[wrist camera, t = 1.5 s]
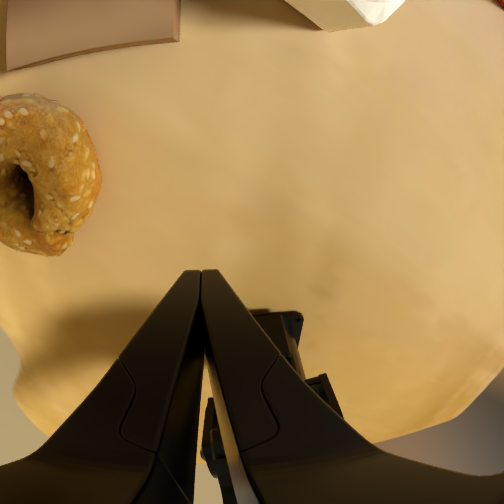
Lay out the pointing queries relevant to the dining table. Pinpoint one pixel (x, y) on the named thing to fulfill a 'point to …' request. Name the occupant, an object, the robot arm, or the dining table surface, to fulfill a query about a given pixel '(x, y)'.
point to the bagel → (44, 174)
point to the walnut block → (84, 27)
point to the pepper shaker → (345, 12)
